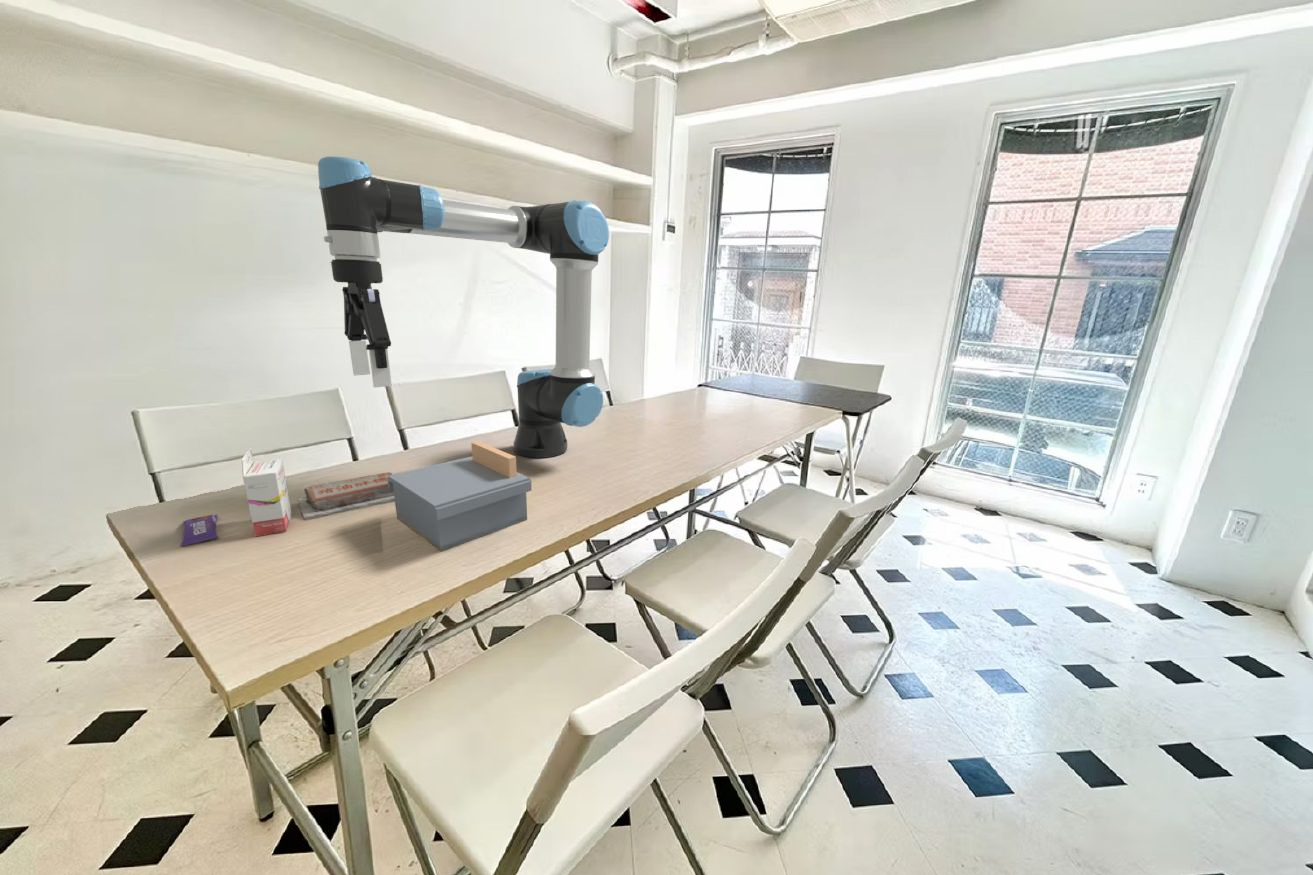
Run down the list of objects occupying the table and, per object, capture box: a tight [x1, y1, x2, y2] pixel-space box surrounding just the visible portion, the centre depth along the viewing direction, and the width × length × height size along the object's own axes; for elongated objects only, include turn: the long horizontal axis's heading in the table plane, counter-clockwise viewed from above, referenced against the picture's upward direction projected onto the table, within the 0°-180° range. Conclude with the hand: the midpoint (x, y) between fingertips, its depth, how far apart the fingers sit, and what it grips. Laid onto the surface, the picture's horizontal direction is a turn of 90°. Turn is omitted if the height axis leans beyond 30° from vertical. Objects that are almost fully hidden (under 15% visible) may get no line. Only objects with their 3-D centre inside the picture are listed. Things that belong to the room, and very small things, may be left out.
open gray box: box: [393, 484, 528, 553], centre depth 99 cm, size 18×18×8 cm
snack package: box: [179, 514, 219, 547], centre depth 91 cm, size 12×2×5 cm
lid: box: [387, 440, 532, 520], centre depth 97 cm, size 19×20×6 cm
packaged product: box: [297, 472, 395, 521], centre depth 105 cm, size 18×5×10 cm
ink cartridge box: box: [241, 447, 293, 537], centre depth 93 cm, size 9×5×15 cm, turn 29°
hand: (371, 380), depth 93 cm, fingers open, 13 cm apart
